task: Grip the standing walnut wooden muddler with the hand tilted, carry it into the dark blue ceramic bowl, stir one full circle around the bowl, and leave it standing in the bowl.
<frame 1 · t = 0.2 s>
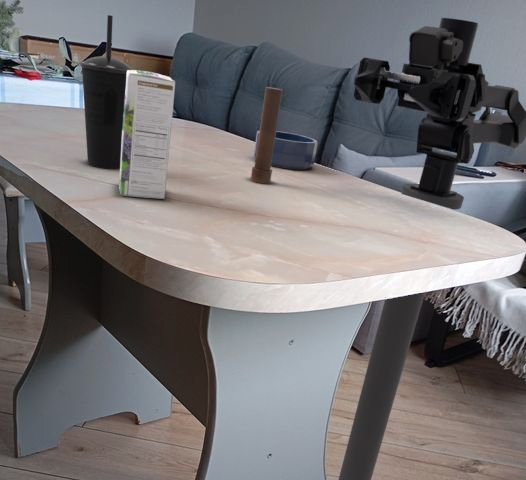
hand: (382, 85, 87), 17 cm above the table, tool horizontal, fingers open, 9 cm apart
bowl: (283, 163, 118), on the table
muddler: (260, 181, 99), on the table
drinking cup: (104, 166, 93), on the table
syrup box: (142, 194, 81), on the table
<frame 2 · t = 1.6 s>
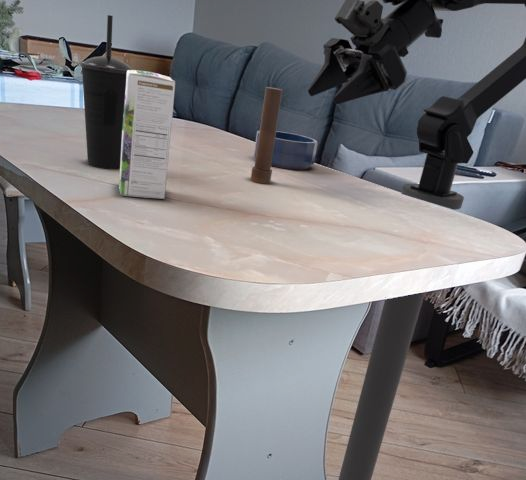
hand: (321, 97, 96), 14 cm above the table, tool tilted 45°, fingers open, 9 cm apart
nothing on the table moved.
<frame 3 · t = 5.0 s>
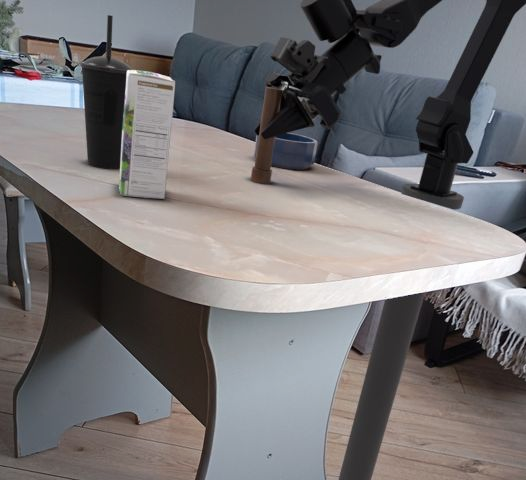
hand: (258, 134, 96), 7 cm above the table, tool tilted 45°, fingers closed on muddler, 2 cm apart
muddler: (260, 181, 99), on the table, touching gripper
everything else where it was.
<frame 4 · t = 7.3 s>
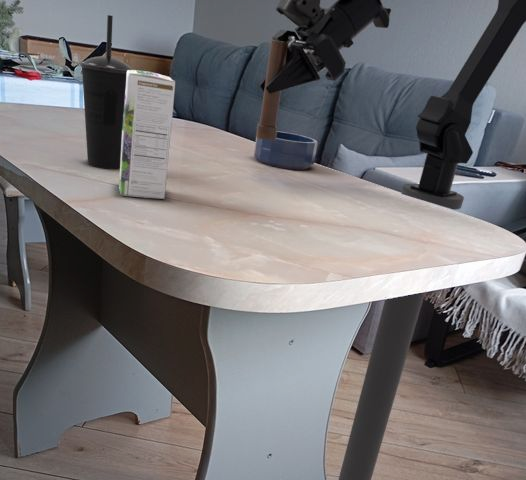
hand: (264, 89, 95), 13 cm above the table, tool tilted 45°, fingers closed on muddler, 2 cm apart
muddler: (265, 138, 98), point 6 cm above the table, touching gripper
everything else where it was.
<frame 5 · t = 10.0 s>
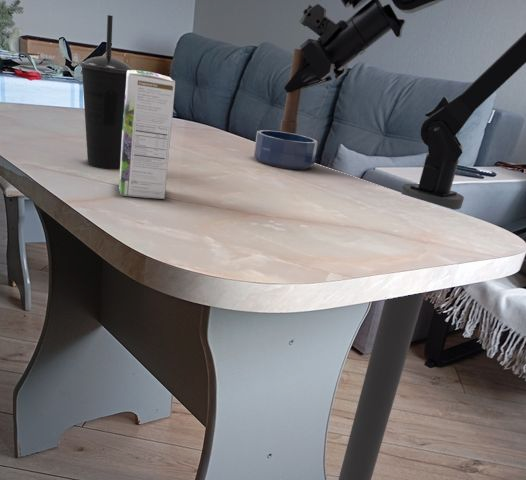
hand: (287, 90, 112), 13 cm above the table, tool tilted 45°, fingers closed on muddler, 2 cm apart
muddler: (288, 131, 115), point 6 cm above the table, touching gripper
everything else where it was.
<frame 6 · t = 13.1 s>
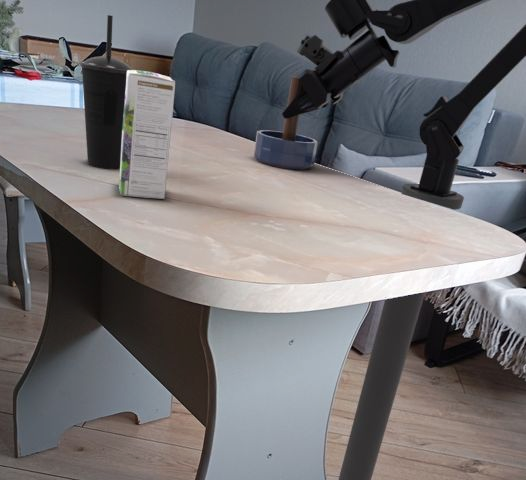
hand: (285, 115, 116), 8 cm above the table, tool tilted 45°, fingers closed on muddler, 2 cm apart
muddler: (285, 155, 118), point 1 cm above the table, touching gripper
everything else where it was.
when the fingers open (8 cm above the table, at t = 15.3 s): muddler stays where it is, resting on bowl.
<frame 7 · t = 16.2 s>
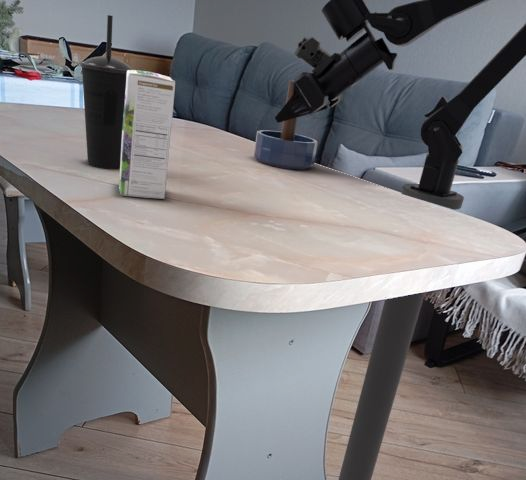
hand: (282, 118, 115), 8 cm above the table, tool tilted 45°, fingers open, 9 cm apart
muddler: (283, 160, 118), point 1 cm above the table, touching bowl
everything else where it was.
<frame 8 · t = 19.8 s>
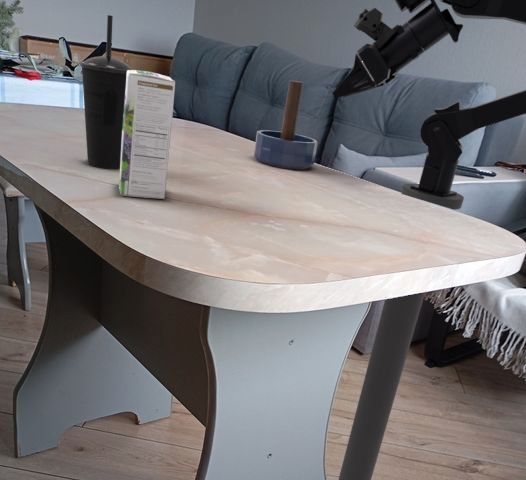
hand: (338, 95, 110), 14 cm above the table, tool tilted 45°, fingers open, 9 cm apart
nothing on the table moved.
at the end: muddler inside the target area in the bowl (0.0 cm from its centre), point 0.6 cm above the bowl's base; muddler moved 20.6 cm from its start; the gripper is holding nothing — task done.
